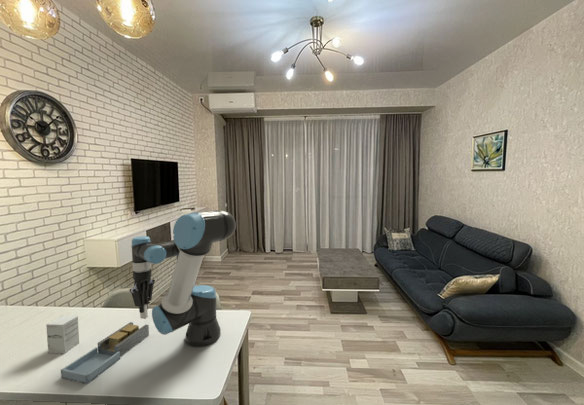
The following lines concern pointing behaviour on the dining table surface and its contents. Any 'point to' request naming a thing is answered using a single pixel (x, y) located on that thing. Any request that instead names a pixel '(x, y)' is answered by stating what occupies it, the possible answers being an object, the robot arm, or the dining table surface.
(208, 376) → the dining table surface
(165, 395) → the dining table surface
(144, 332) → the slot bed
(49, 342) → the supplement box
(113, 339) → the yellow brown block
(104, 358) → the tray
